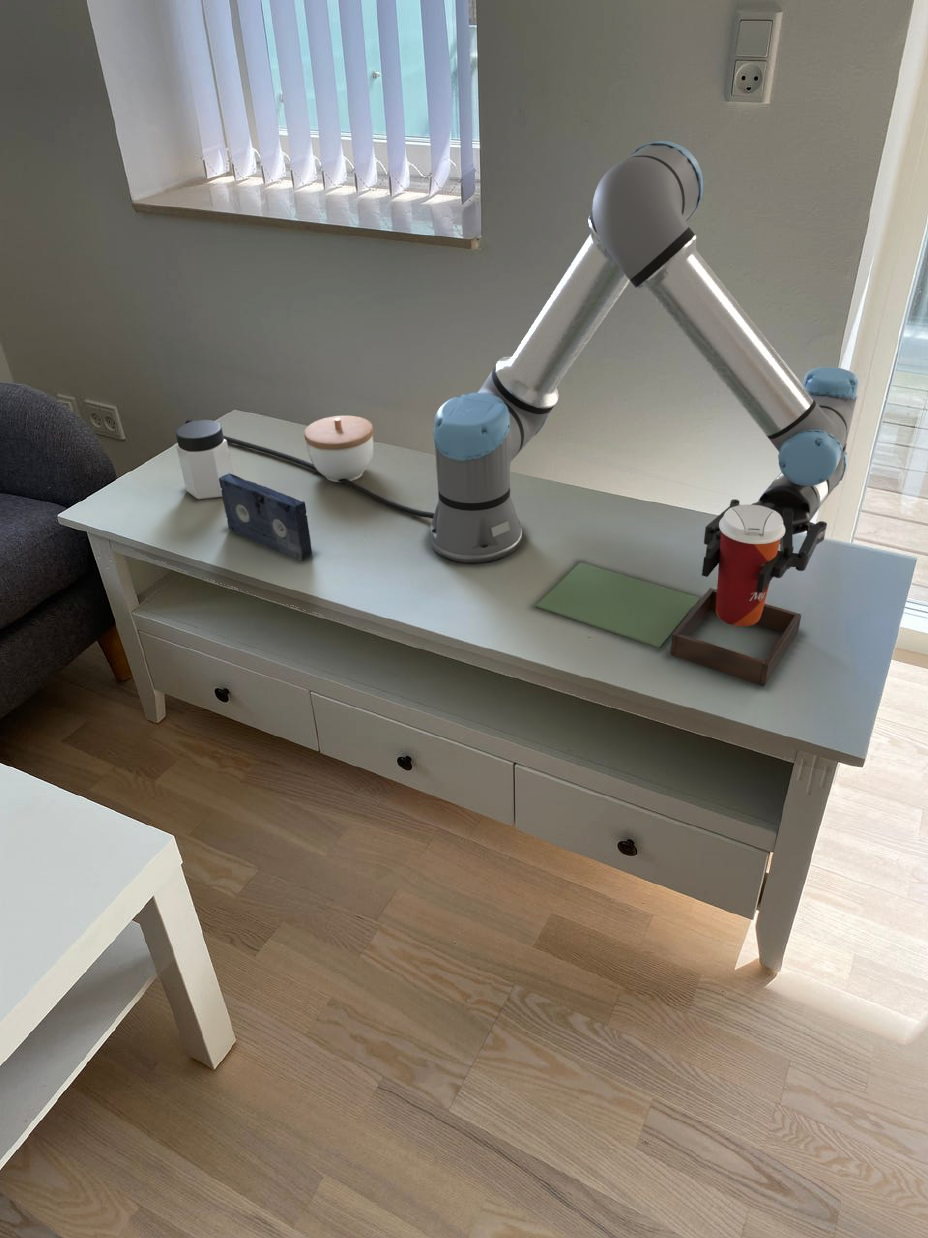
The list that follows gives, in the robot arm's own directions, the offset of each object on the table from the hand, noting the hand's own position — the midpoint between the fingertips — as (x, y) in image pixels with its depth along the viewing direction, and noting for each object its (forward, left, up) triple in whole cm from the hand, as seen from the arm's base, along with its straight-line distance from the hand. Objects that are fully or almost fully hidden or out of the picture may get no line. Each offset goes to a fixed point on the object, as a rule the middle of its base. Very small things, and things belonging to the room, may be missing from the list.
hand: (732, 575), depth 124 cm
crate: (0, +5, -14) cm, 15 cm away
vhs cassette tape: (-77, -7, -15) cm, 78 cm away
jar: (-100, +2, -15) cm, 101 cm away
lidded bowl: (-82, +19, -15) cm, 85 cm away
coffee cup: (0, +5, -9) cm, 10 cm away
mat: (-18, +6, -14) cm, 24 cm away
